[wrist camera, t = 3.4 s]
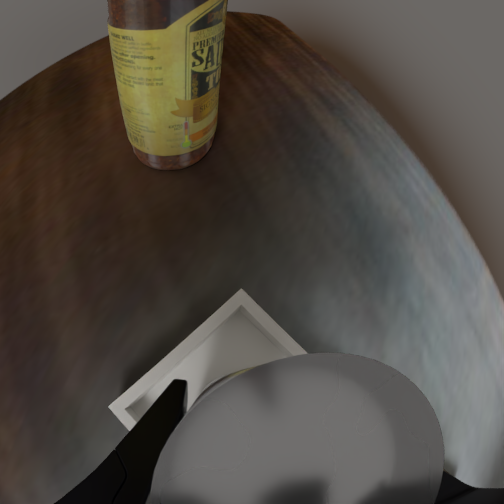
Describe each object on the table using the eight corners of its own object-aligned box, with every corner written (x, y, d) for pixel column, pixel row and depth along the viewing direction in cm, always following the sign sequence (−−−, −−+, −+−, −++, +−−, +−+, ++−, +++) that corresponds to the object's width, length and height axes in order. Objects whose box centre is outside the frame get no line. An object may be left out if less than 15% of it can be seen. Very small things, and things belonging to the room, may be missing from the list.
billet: (239, 468, 13) (306, 624, 2) (176, 412, 13) (85, 493, 3) (299, 411, 14) (478, 449, 3) (238, 355, 15) (316, 286, 4)
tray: (238, 514, 12) (242, 527, 10) (118, 404, 14) (107, 406, 12) (350, 405, 15) (365, 406, 14) (238, 297, 17) (241, 288, 15)
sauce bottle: (212, 177, 20) (251, -153, 2) (122, 174, 19) (72, -129, 1) (218, 114, 23) (251, -132, 5) (142, 112, 22) (129, -125, 4)
